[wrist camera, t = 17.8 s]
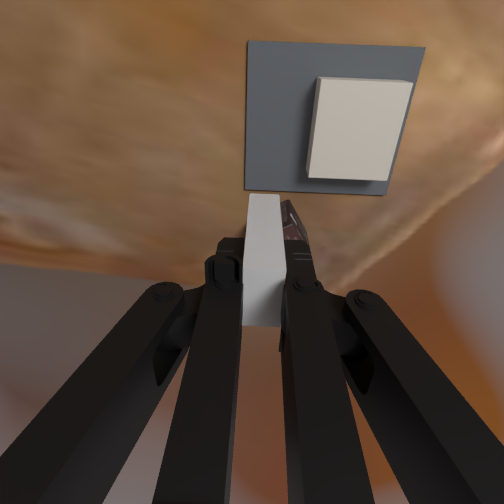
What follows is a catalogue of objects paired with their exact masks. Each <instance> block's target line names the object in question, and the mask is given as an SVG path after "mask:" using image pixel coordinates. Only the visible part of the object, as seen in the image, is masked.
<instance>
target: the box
mask: <svg viewBox="0 0 504 504" xmlns="http://www.w3.org/2000/svg"><path fill="white" fill-rule="evenodd" d="M280 209H281V219H282V229H283V239H291V240H304V241H305V242H306V243H307V244H308V245H309V242H308V237H307V233H306V231H305V228H304V227H303V225H302V223H301V221H300V218H299V217H298V215H297V213H296V211H295V209H294V207H293V206H292V204H291V202H290V200H285V201H283V202H281V203H280Z"/></svg>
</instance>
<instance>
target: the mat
mask: <svg viewBox="0 0 504 504" xmlns="http://www.w3.org/2000/svg"><path fill="white" fill-rule="evenodd" d="M425 48H426V47H402V46H375V45H349V44H322V43H295V42H269V41H248V69H247V116H246V163H245V189H246V190H270V191H294V192H318V193H342V194H366V195H386V193H387V189H388V185H389V182H390V178H391V174H392V171H393V167H394V163H395V159H396V156H397V152H398V148H399V145H400V141H401V137H402V133H403V130H404V126H405V122H406V119H407V115H408V111H409V108H410V104H411V100H412V96H413V93H414V89H415V85H416V82H417V78H418V74H419V70H420V67H421V63H422V59H423V56H424V52H425ZM317 77H339V78H363V79H387V80H404V81H408V82H412V83H413V86H412V90H411V93H410V97H409V101H408V104H407V108H406V112H405V116H404V119H403V123H402V127H401V131H400V134H399V138H398V142H397V145H396V149H395V153H394V157H393V160H392V164H391V168H390V172H389V175H388V179H387V181H379V180H356V179H334V178H311V177H308V175H307V172H306V162H307V154H308V146H309V138H310V130H311V122H312V114H313V106H314V98H315V90H316V82H317Z"/></svg>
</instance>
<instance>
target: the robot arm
mask: <svg viewBox="0 0 504 504" xmlns="http://www.w3.org/2000/svg"><path fill="white" fill-rule="evenodd" d="M205 280H206V282H205V284H204V285H203V286H200V287H198V288H195V289H190V290H185V291H183V288H182V287H181V286H180V285H179V284H176V283H173V282H161V283H157V284H155V285H152V286H151V287H149V288H148V289H147V290H146V291H145V292H144V293H143V294H142V295H141V297H140V298H139V299H138V300H137V301H136V302H135V303H134V304H133V306H132V307H131V308H130V309H129V310H128V311H127V313H126V314H125V315H124V316H123V317H122V318H121V319H120V320H119V322H118V323H117V324H116V325H115V326H114V327H113V329H112V330H111V331H110V332H109V333H108V334H107V336H106V337H105V338H104V339H103V340H102V341H101V342H100V343H99V345H98V346H97V347H96V348H95V349H94V350H93V351H92V353H91V354H90V355H89V356H88V357H87V358H86V359H85V361H84V362H83V363H82V364H81V365H80V366H79V367H78V369H77V370H76V371H75V372H74V373H73V374H72V375H71V377H70V378H69V379H68V380H67V381H66V382H65V383H64V385H63V386H62V387H61V388H60V389H59V390H58V391H57V393H56V394H55V395H54V396H53V397H52V398H51V399H50V401H49V402H48V403H47V404H46V405H45V407H43V409H42V410H41V411H40V412H39V413H38V414H37V416H36V417H35V418H34V419H33V420H32V421H31V423H30V424H29V425H28V426H27V427H26V428H25V429H24V430H23V431H22V433H21V434H20V435H19V436H18V437H17V438H16V439H15V441H14V442H13V443H12V444H11V445H10V446H9V447H8V449H7V450H6V451H5V452H4V453H3V454H2V455H1V457H0V504H102V503H103V501H104V499H105V498H106V496H107V494H108V492H109V490H110V489H111V487H112V485H113V483H114V482H115V480H116V478H117V476H118V474H119V473H120V471H121V469H122V467H123V465H124V464H125V462H126V460H127V458H128V456H129V455H130V453H131V451H132V449H133V448H134V446H135V444H136V442H137V441H138V439H139V437H140V435H141V433H142V431H143V430H144V428H145V426H146V425H147V423H148V421H149V419H150V417H151V416H152V413H153V412H154V410H155V409H156V407H157V405H158V403H159V401H160V400H161V398H162V396H163V394H164V392H165V391H166V389H167V387H168V385H169V384H170V382H171V380H172V378H173V376H174V375H175V373H176V371H177V369H178V368H179V366H180V364H181V362H182V360H183V359H184V357H185V355H186V353H187V351H188V348H189V347H190V349H189V353H188V357H187V361H186V365H185V369H184V373H183V377H182V381H181V386H180V390H179V394H178V398H177V403H176V406H175V410H174V414H173V419H172V423H171V427H170V431H169V435H168V439H167V444H166V448H165V452H164V456H163V460H162V464H161V468H160V472H159V476H158V480H157V485H156V489H155V493H154V497H153V501H152V504H229V500H230V499H229V498H230V486H231V485H230V484H231V472H232V459H233V446H234V432H235V418H236V405H237V392H238V378H239V365H240V351H241V337H242V325H245V326H267V327H268V326H269V327H280V325H281V335H280V343H279V352H281V364H282V383H283V404H284V422H285V444H286V463H287V483H288V503H289V504H375V502H374V498H373V493H372V489H371V485H370V481H369V477H368V473H367V468H366V465H365V460H364V456H363V452H362V447H361V443H360V439H359V435H358V431H357V427H356V422H355V419H354V415H353V410H352V405H351V401H350V398H349V393H348V389H347V384H346V381H347V383H348V385H349V387H350V389H351V391H352V393H353V395H354V397H355V398H356V401H357V403H358V405H359V407H360V408H361V410H362V412H363V414H364V416H365V418H366V420H367V422H368V424H369V426H370V428H371V430H372V432H373V434H374V436H375V438H376V440H377V441H378V443H379V445H380V447H381V449H382V451H383V453H384V455H385V457H386V459H387V461H388V463H389V465H390V467H391V468H392V471H393V473H394V474H395V476H396V478H397V480H398V482H399V484H400V486H401V488H402V490H403V492H404V494H405V496H406V498H407V500H408V502H409V503H410V504H504V446H503V445H502V443H501V442H500V441H499V440H498V439H497V437H496V436H495V435H494V434H493V433H492V431H491V430H490V429H489V428H488V426H487V425H486V424H485V423H484V422H483V420H482V419H481V418H480V417H479V415H478V414H477V413H476V412H475V410H474V409H473V408H472V407H471V406H470V405H469V403H468V402H467V401H466V400H465V398H464V397H463V396H462V395H461V393H460V392H459V391H458V390H457V389H456V387H455V386H454V385H453V384H452V382H451V381H450V380H449V379H448V378H447V376H446V375H445V374H444V373H443V372H442V370H441V369H440V368H439V367H438V365H437V364H436V363H435V362H434V361H433V359H432V358H431V357H430V356H429V354H428V353H427V352H426V351H425V350H424V348H423V347H422V346H421V345H420V344H419V342H418V341H417V340H416V339H415V337H414V336H413V335H412V334H411V333H410V331H409V330H408V329H407V328H406V327H405V326H404V324H403V323H402V322H401V320H400V319H399V318H398V317H397V316H396V314H395V313H394V312H393V311H392V309H391V308H390V307H389V306H388V305H387V303H386V302H385V301H384V300H383V299H382V298H381V297H380V296H379V295H377V294H375V293H373V292H371V291H367V290H357V289H356V290H353V291H350V292H349V293H348V294H347V296H346V297H342V296H338V295H335V294H332V293H329V292H327V291H326V290H324V288H323V286H322V284H321V282H319V281H318V280H317V278H316V274H315V269H314V265H313V260H312V256H311V251H310V247H309V245H308V244H307V243H306V242H305V241H304V240H291V239H283V229H282V219H281V209H280V199H279V195H274V194H250V197H249V207H248V217H247V228H246V238H226V237H224V238H223V239H222V240H221V241H220V242H219V243H218V246H217V251H216V255H213V256H211V257H209V258H208V259H207V260H206V261H205ZM345 379H346V380H345Z"/></svg>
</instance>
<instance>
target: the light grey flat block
mask: <svg viewBox="0 0 504 504" xmlns="http://www.w3.org/2000/svg"><path fill="white" fill-rule="evenodd" d="M412 86H413V83H412V82H408V81H404V80H387V79H363V78H339V77H317V82H316V90H315V98H314V106H313V114H312V122H311V130H310V138H309V146H308V154H307V162H306V172H307V175H308V177H311V178H334V179H356V180H379V181H387V179H388V175H389V172H390V168H391V164H392V160H393V157H394V153H395V149H396V145H397V142H398V138H399V134H400V131H401V127H402V123H403V119H404V116H405V112H406V108H407V104H408V101H409V97H410V93H411V90H412Z"/></svg>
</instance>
